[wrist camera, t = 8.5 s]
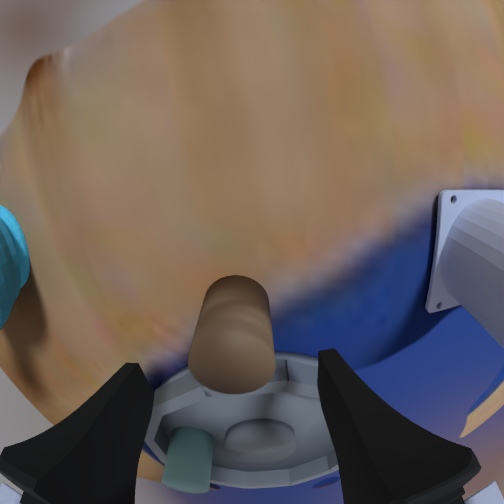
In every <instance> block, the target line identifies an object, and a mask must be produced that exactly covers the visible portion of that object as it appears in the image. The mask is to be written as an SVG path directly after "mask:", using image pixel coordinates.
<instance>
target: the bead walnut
mask: <svg viewBox="0 0 504 504" xmlns="http://www.w3.org/2000/svg"><path fill="white" fill-rule="evenodd" d="M188 367H189V370H190V372H191V374H192V375H193V377H194V378H195V379H196V380H197V381H198V382H199V383H200V384H202V385H203V386H205V387H207V388H208V389H211V390H213V391H216V392H220V393H224V394H245V393H249V392H253V391H255V390H258V389H260V388H261V387H263V386H264V385H266V384H267V383H268V382H269V381H270V380H271V378H272V377H273V375H274V372H275V368H276V363H275V354H274V344H273V335H272V326H271V316H270V307H269V299H268V296H267V293H266V291H265V290H264V288H263V287H262V286H261V285H260V284H259V283H258V282H256V281H255V280H253V279H251V278H248V277H245V276H238V275H232V276H226V277H223V278H221V279H219V280H217V281H215V282H214V283H213V284H212V285H211V286H210V287H209V288H208V290H207V292H206V295H205V298H204V301H203V305H202V309H201V312H200V316H199V319H198V323H197V327H196V330H195V334H194V338H193V341H192V345H191V349H190V353H189V356H188Z"/></svg>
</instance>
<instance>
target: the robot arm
mask: <svg viewBox="0 0 504 504" xmlns="http://www.w3.org/2000/svg"><path fill="white" fill-rule="evenodd" d="M452 196H453V200H452V201H451V197H452ZM438 303H439V304H438ZM437 304H438V305H437ZM458 305H461V306H462V307H463V308H464V309H466V310H467V311H468V312H469V313H470V314H471V315H472V316H473V317H474V318H475V319H476V320H477V321H478V322H479V323H480V324H481V325H482V326H483V327H484V328H485V329H486V330H487V331H488V332H489V333H490V334H491V336H492V337H493V338H494V339H495V340H496V341H497V342H498V343H499V344H500V345H501V346H502V347H503V348H504V190H443V191H441V192H440V194H439V197H438V214H437V229H436V240H435V249H434V258H433V265H432V272H431V278H430V284H429V290H428V295H427V301H426V305H425V308H426V310H427V311H428V312H429V313H434V312H437V311H441V310H445V309H448V308H451V307H455V306H458ZM317 387H318V393H319V398H320V403H321V408H322V411H323V415H324V418H325V421H326V424H327V427H328V430H329V434H330V437H331V440H332V443H333V446H334V450H335V453H336V457H337V462H338V467H339V473H340V479H341V485H342V491H343V499H344V504H504V499H503V497H502V494H501V492H500V490H499V488H498V485H497V483H496V481H493V482H491V483H490V484H489V485H487V486H486V487H484V488H483V489H481V490H480V491H478V492H477V493H475V494H473V495H472V496H471V497H469V498H467V499H466V500H463V498H462V495H464V494H465V491H464V488H463V486H464V485H465V484H466V483H467V482H468V481H470V480H471V479H472V478H473V477H474V476H475V475H476V474H478V472H479V471H480V469H481V466H480V464H479V462H478V460H477V458H476V456H475V454H474V453H473V451H472V450H471V448H468V447H465V446H462V445H459V444H456V443H453V442H451V441H448V440H446V439H444V438H441V437H439V436H437V435H435V434H433V433H431V432H429V431H427V430H426V429H424V428H422V427H420V426H419V425H417V424H415V423H413V422H411V421H410V420H409V419H407V418H406V417H404V416H403V415H401V414H400V413H399V412H397V411H396V410H395V409H393V408H392V407H391V406H389V405H388V404H387V403H386V402H385V401H383V400H382V399H381V398H380V397H379V396H378V395H377V394H376V393H374V392H373V391H372V390H371V389H370V388H369V387H368V386H367V385H366V384H365V383H364V382H363V381H362V380H361V378H359V376H358V375H357V374H356V373H355V372H354V371H353V370H352V369H351V367H350V366H349V365H348V364H347V363H346V362H345V360H344V359H343V358H342V357H341V355H340V354H339V353H338V352H337V350H335V349H328V350H322V351H318V378H317ZM154 396H155V395H154V393H153V391H152V389H151V387H150V385H149V383H148V381H147V379H146V377H145V375H144V373H143V371H142V369H141V367H140V365H139V363H126V364H124V365H123V366H122V367H121V368H120V369H119V370H118V371H117V372H116V373H115V374H114V375H113V376H112V377H111V378H110V379H109V380H108V381H107V382H106V383H105V384H104V385H103V386H102V387H101V388H100V389H99V390H98V391H97V392H96V393H95V394H94V395H93V396H91V397H90V398H89V399H88V400H87V401H86V402H85V403H84V404H82V405H81V406H80V407H79V408H78V409H77V410H76V411H74V412H73V413H72V414H71V415H69V416H68V417H66V418H65V419H64V420H62V421H61V422H59V423H58V424H56V425H55V426H53V427H51V428H50V429H48V430H46V431H45V432H43V433H41V434H39V435H37V436H35V437H33V438H30V439H28V440H26V441H23V442H20V443H17V444H14V445H11V446H8V447H5V448H4V449H3V451H2V453H1V455H0V473H1V474H2V475H3V476H5V477H6V478H7V479H8V480H10V481H11V482H12V483H13V484H15V485H16V486H17V487H19V488H20V489H21V490H23V491H24V492H23V495H21V494H20V493H19V492H17V491H16V490H14V489H13V488H11V487H10V486H8V485H7V484H5V483H4V482H2V484H1V486H0V504H135V486H136V476H137V468H138V462H139V458H140V454H141V450H142V447H143V443H144V440H145V437H146V433H147V430H148V426H149V423H150V419H151V416H152V410H153V403H154Z"/></svg>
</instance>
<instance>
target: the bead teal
mask: <svg viewBox="0 0 504 504" xmlns="http://www.w3.org/2000/svg"><path fill="white" fill-rule="evenodd" d="M213 445H214V438H213V436H212V435H211V434H209V433H208V432H206V431H204V430H201V429H198V428H194V427H178V428H175V429H174V430H173V431H172V433H171V438H170V442H169V447H168V452H167V456H166V461H165V466H164V471H163V476H162V480H161V482H162V483H163V484H164V485H165V486H167V487H169V488H172V489H174V490H177V491H181V492H186V493H206V492H208V491H209V488H210V477H211V466H212V456H213Z"/></svg>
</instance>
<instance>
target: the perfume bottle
mask: <svg viewBox="0 0 504 504" xmlns="http://www.w3.org/2000/svg"><path fill="white" fill-rule="evenodd" d="M29 271H30V260H29V252H28V248H27V244H26V240H25V237H24V235H23V232H22V230H21V227H20V226H19V224H18V222H17V220H16V219H15V217H14V216H13V215H12V213H11V212H10V211H8V210H7V209H6V208H5V207H3V206H0V329H1V328H2V327H3V325H4V324H5V323H6V321H7V319H8V317H9V315H10V313H11V310H12V307H13V303H14V301H15V300H16V299H17V297H18V295H19V292H20V288H21V287H23V286H24V284H25V283H26V282H27V279H28V276H29Z"/></svg>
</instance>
